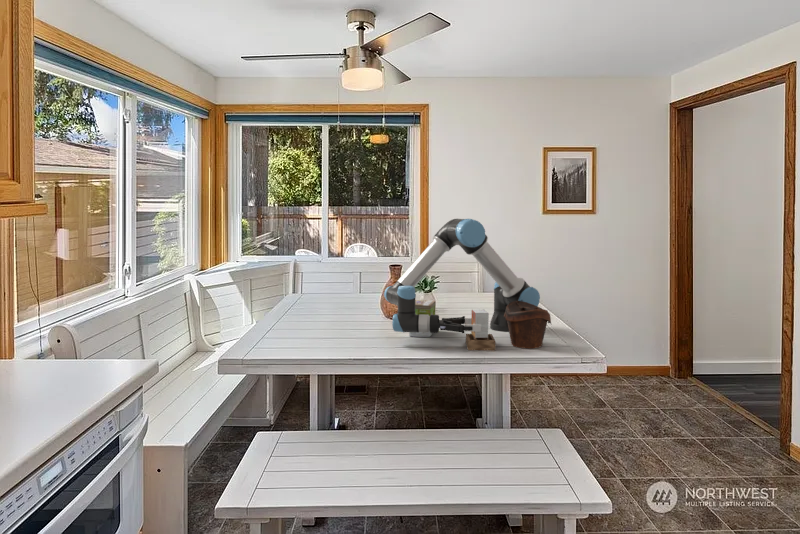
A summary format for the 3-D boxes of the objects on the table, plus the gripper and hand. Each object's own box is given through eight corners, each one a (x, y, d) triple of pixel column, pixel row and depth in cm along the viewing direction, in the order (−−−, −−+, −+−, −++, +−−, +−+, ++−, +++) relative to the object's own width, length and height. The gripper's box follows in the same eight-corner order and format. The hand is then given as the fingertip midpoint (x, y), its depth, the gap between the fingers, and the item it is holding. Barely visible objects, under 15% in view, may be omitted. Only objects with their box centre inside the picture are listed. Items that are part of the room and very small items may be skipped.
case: (543, 352, 235) (544, 308, 233) (496, 346, 245) (497, 304, 244) (557, 344, 250) (558, 302, 248) (512, 339, 260) (513, 299, 259)
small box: (471, 333, 249) (471, 309, 248) (484, 333, 249) (484, 309, 248) (474, 338, 241) (475, 312, 240) (488, 337, 241) (488, 312, 240)
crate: (491, 343, 252) (491, 332, 251) (495, 350, 239) (495, 339, 238) (465, 343, 252) (465, 332, 252) (468, 350, 239) (468, 339, 239)
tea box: (430, 337, 263) (431, 305, 262) (408, 336, 265) (408, 304, 264) (435, 330, 278) (435, 299, 276) (414, 329, 280) (414, 299, 278)
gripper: (431, 326, 260) (480, 327, 257) (427, 339, 235) (480, 340, 232) (431, 309, 259) (480, 310, 256) (427, 320, 234) (481, 321, 232)
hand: (480, 324), depth 244 cm, fingers open, 13 cm apart
